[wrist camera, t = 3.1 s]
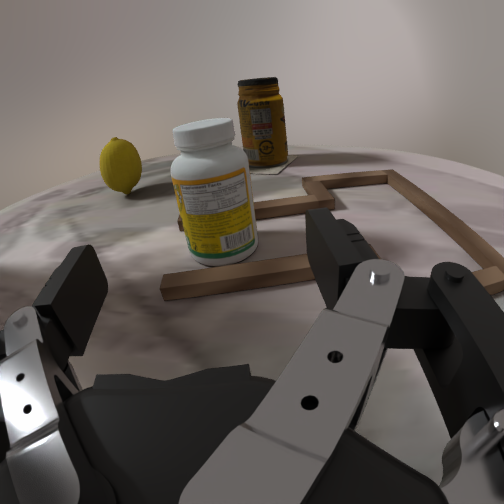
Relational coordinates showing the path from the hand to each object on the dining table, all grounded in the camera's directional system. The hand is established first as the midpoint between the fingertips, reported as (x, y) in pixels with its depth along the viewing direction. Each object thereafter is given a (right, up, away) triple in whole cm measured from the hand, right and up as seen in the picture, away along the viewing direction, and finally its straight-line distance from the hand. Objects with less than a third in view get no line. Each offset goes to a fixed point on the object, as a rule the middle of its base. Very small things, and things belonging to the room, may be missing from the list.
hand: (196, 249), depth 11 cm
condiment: (+4, +12, +31) cm, 33 cm away
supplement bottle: (0, 0, +13) cm, 13 cm away
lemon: (-14, +7, +28) cm, 32 cm away
